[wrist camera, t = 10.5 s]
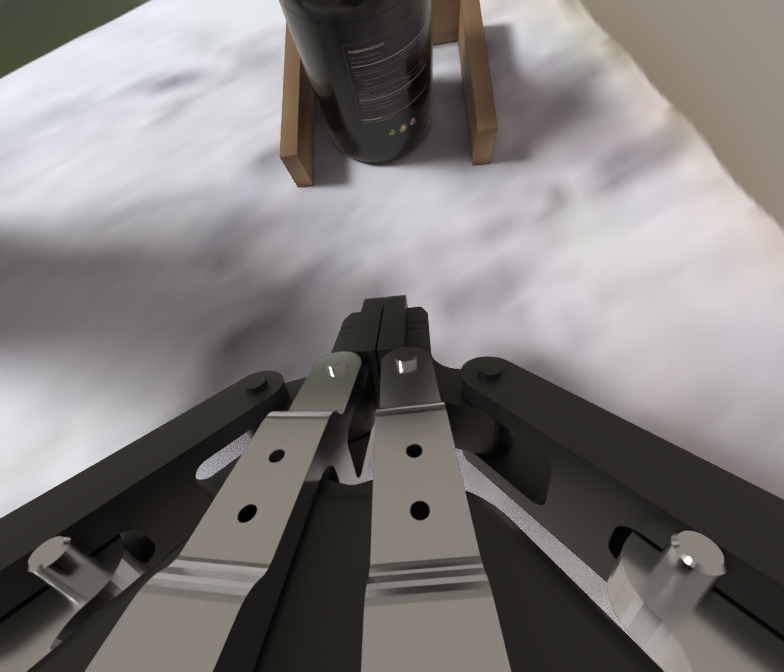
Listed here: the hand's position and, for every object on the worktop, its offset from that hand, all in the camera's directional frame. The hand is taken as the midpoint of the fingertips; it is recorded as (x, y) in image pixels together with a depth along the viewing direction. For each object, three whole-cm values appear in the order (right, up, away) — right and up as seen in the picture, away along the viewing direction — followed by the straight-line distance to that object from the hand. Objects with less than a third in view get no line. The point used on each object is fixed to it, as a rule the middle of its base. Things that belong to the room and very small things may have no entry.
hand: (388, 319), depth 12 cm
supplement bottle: (-1, +13, +9) cm, 16 cm away
